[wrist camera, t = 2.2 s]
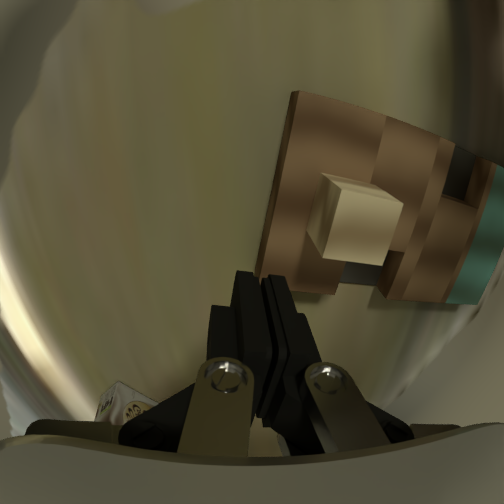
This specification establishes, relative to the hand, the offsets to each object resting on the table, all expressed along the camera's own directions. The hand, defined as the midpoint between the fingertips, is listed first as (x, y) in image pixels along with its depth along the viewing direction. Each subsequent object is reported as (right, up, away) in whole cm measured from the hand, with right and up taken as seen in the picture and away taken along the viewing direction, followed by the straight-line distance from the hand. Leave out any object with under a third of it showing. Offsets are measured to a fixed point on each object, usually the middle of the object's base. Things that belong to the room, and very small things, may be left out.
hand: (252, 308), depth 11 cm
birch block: (+7, +6, +14) cm, 17 cm away
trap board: (+16, +6, +18) cm, 25 cm away
